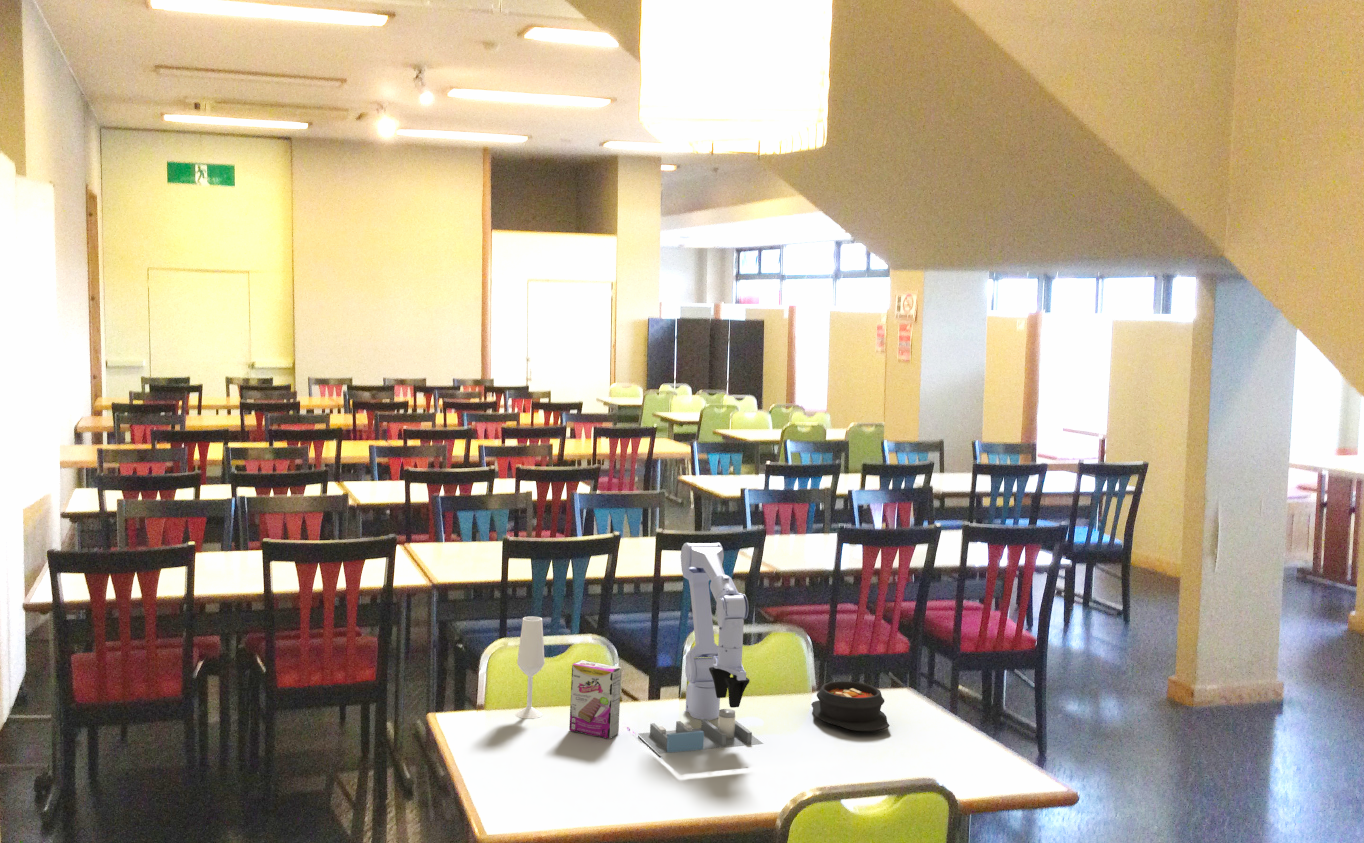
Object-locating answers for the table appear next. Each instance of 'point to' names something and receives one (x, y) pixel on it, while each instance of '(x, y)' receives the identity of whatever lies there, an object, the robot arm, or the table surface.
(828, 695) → the casserole
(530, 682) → the champagne flute
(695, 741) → the grey slotted rack
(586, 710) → the candy bar box
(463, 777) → the table surface
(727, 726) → the cream rounded cylinder
